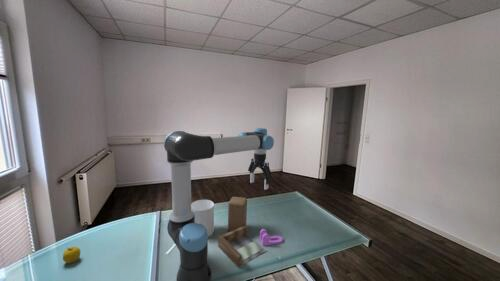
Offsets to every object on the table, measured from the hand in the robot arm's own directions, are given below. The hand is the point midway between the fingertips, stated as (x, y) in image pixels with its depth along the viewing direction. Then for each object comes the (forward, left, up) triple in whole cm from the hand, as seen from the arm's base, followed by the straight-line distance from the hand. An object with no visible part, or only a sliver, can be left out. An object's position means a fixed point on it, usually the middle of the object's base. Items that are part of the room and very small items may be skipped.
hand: (258, 185), depth 124 cm
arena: (-19, -14, -28) cm, 37 cm away
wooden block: (-12, +6, -29) cm, 32 cm away
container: (-31, +17, -29) cm, 46 cm away
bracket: (-3, -16, -29) cm, 33 cm away
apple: (-92, +32, -29) cm, 102 cm away
